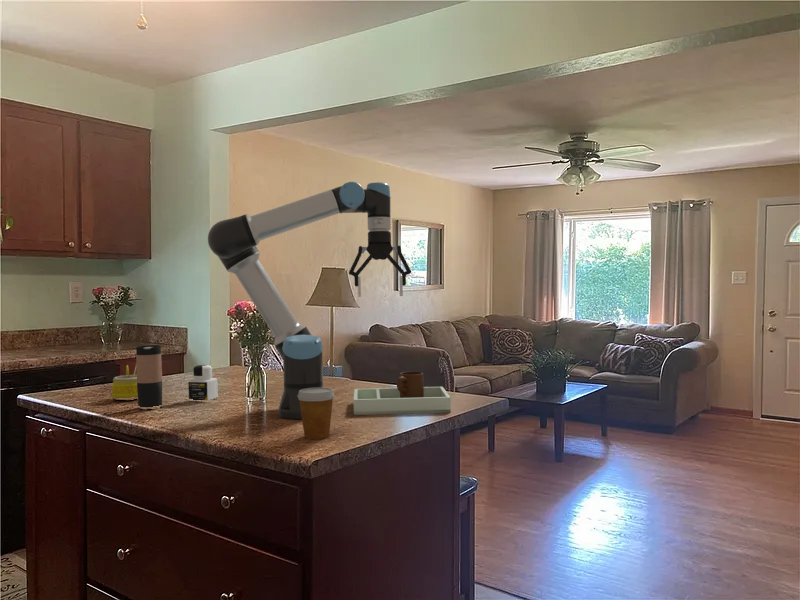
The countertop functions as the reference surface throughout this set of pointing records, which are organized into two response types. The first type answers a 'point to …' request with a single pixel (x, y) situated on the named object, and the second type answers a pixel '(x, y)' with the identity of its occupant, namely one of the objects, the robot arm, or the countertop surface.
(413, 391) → the mug
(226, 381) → the countertop surface
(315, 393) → the disposable coffee cup
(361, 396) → the box
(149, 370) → the travel mug
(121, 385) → the yellow birthday cake
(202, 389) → the medicine bottle
